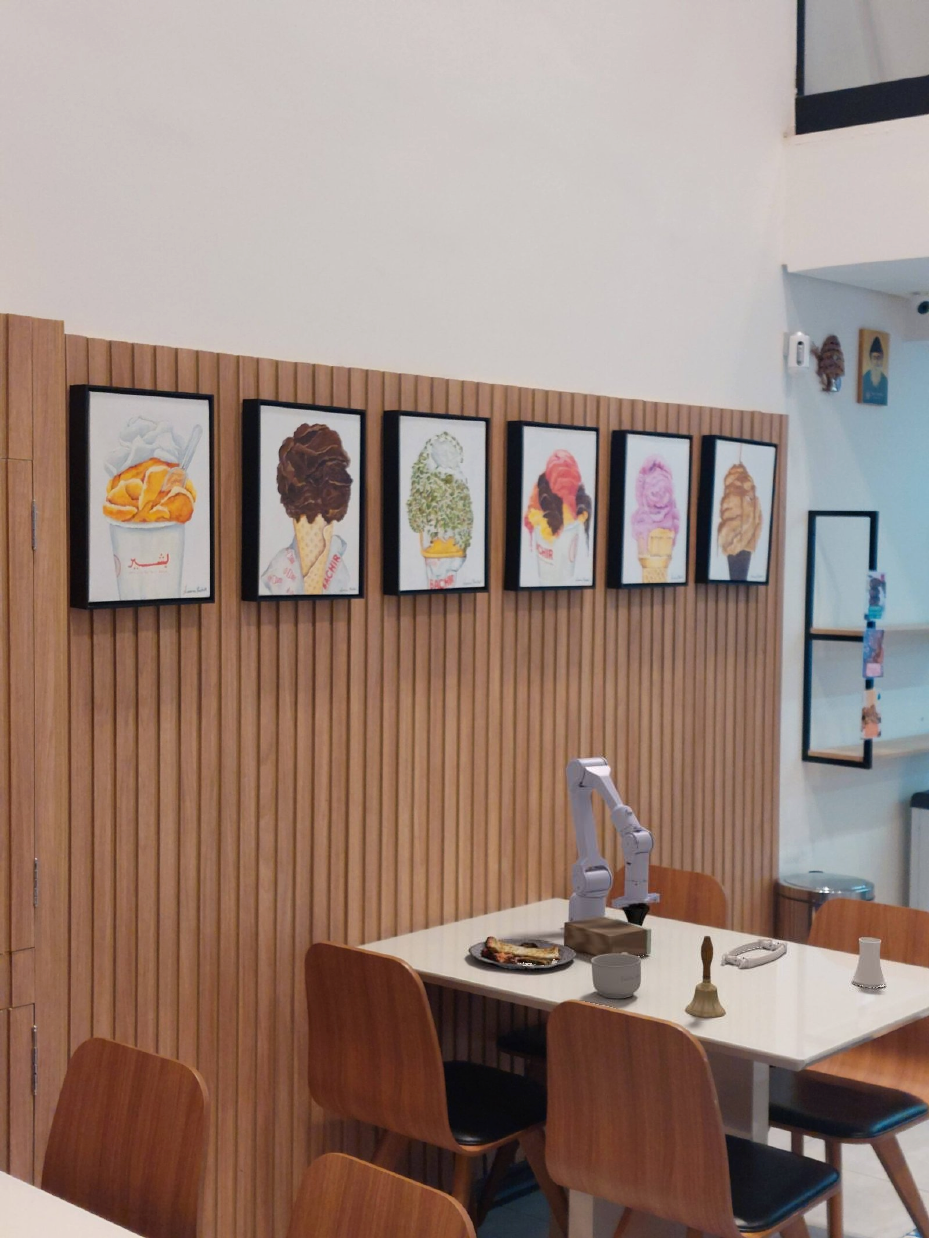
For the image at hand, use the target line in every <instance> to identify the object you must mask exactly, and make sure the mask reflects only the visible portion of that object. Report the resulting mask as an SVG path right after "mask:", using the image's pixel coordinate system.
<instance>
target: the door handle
mask: <svg viewBox="0 0 929 1238" xmlns="http://www.w3.org/2000/svg"><path fill="white" fill-rule="evenodd" d="M757 947H761V948H763V947H764V948H763V949H767V950H772V952H768V953H767V954H766V953H765V954H763V955H759V956H755V957H752V956H746V957H741V956H738V955H741V954H742V953H741V952H743V951H747V950H748V949H753V948H757ZM761 948H760V949H761ZM787 950H788V942H787V941H786V940H784V941H781V942H776V941H773V938H772V937H771V938H765V937H764V938H758V939H757V940H754V941H752V942H751V941H750V942H746V943H744V944H741V945H737V946H735V947H733V948H731V949H730V950H728V951H727V952H725V953H723V955H722V956H721V965H722V966H723V967H725V966H726V963H727V964H731V965H733V966H735V965H736V966H738V967H737V968H738V969H739V970H741V969H749V968H750V967H751V968H754V967H757V966H760V965H764V964H767V963H770V962H773V961H774V960H777V959H778V958H779V957H781V956H783V954H786V951H787ZM747 952H748V951H747ZM740 953H741V954H740ZM737 954H738V955H737ZM735 955H736V956H735ZM772 960H773V961H772ZM751 968H750V969H751Z"/></svg>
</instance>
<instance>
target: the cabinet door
mask: <svg viewBox="0 0 929 1238" xmlns="http://www.w3.org/2000/svg"><path fill="white" fill-rule="evenodd" d="M602 917H605V918H608V919H612V920H615V921H619V922H622V923H626V924H629V925H632V926H636V927H639V928H643V929H646V955H651V952H652V928H649V927H646V926H643V925H642V926H639V925H636V924H632V923H629V922H628V921H627V920H626V921H625V920H622V919H619V918H616V917H615V918H614V917H611V916H608V915H605V916H602Z"/></svg>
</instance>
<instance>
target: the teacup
mask: <svg viewBox="0 0 929 1238" xmlns="http://www.w3.org/2000/svg"><path fill="white" fill-rule="evenodd" d="M590 963H591V975H592V978H591V979H592V983H593V987H594V989H595V990H596V991H597V992H598V993H599V994H600V995H601V996H603V997H604V996H605V997H604V998H610V999H626V998H630V997H632V996H633V995H634V993H636V992H637V991H638V990H639V989H640V987H641V981H642V957H637V956H634V955H629V954H628V953H626V952H623V953H621V954H604V955H599V956H596V957H593V958H591V959H590Z"/></svg>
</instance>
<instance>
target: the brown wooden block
mask: <svg viewBox="0 0 929 1238" xmlns="http://www.w3.org/2000/svg"><path fill="white" fill-rule="evenodd" d="M563 925H564V927H563V929H564V930H563V946H566V947H568V948H570V949H572V950H573V951H574V952H575V953H576V952H577V953H576V954H579V953H580V954H579V955H582V954H583V956H585V955H586V957H588V956H590V957H589V958H591V957H592V958H593V957H596V956H599V955H604V954H621V953H623V952H626V953H628V954H629V955H634V956H637V957H638V956H643V955H647V954H646V929H643V928H639V927H636V926H632V925H629V924H626V923H622V922H619V921H615V920H612V919H608V918H605V917H601V916H599V917H593V918H587V919H582V920H576V921H570V922H568V921H566V922H564V923H563ZM643 957H644V956H643ZM592 958H591V959H592Z"/></svg>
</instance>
